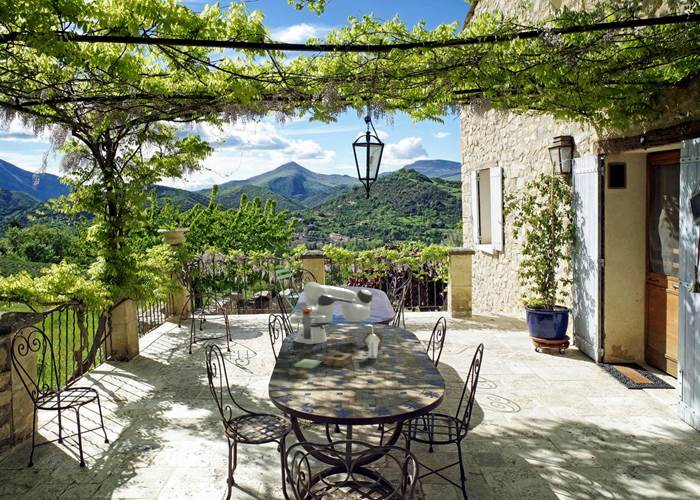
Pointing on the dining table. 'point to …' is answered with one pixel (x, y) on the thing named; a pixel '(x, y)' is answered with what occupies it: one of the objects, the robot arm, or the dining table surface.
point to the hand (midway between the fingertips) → (306, 322)
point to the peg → (306, 322)
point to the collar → (338, 359)
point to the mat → (307, 363)
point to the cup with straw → (372, 344)
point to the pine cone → (379, 335)
